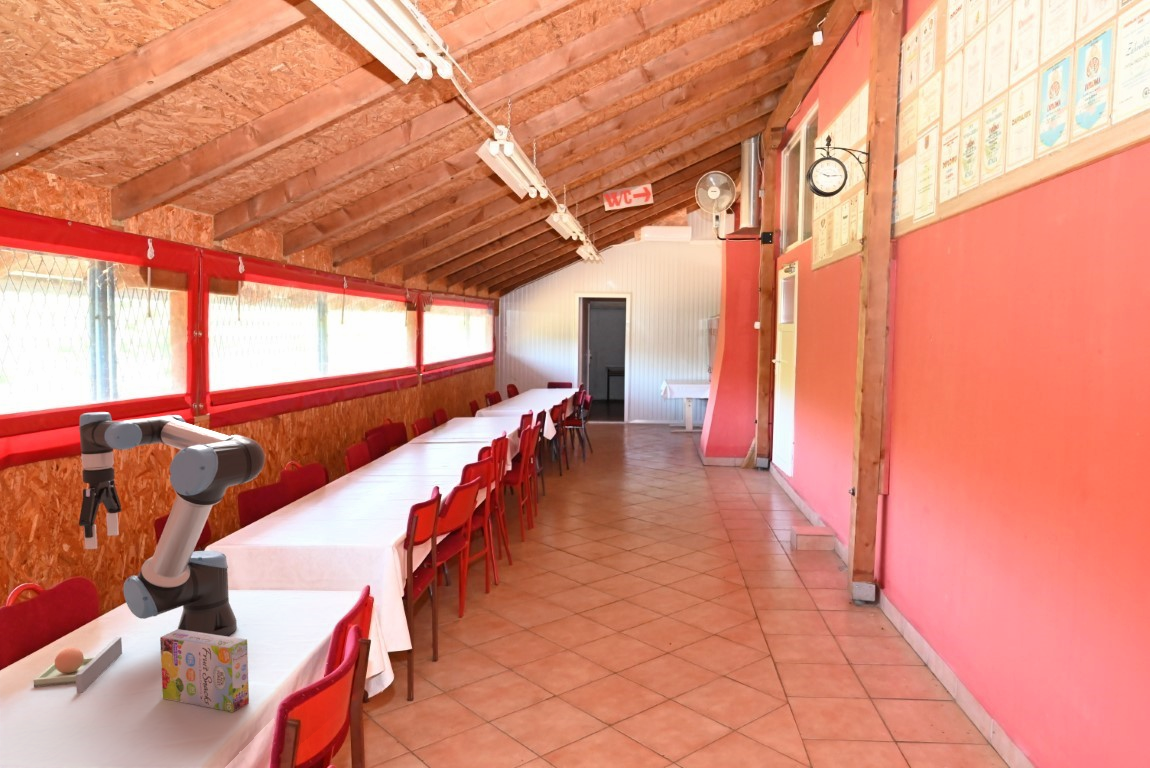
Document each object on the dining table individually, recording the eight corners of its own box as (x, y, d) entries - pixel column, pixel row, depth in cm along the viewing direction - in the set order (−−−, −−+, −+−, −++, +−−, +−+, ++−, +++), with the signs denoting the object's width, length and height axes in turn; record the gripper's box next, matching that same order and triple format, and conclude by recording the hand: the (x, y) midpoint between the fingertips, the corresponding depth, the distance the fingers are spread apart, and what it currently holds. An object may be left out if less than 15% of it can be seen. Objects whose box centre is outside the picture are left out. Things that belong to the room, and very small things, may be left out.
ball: (88, 666, 188) (87, 643, 188) (77, 676, 182) (75, 652, 182) (62, 668, 187) (61, 645, 186) (50, 678, 181) (48, 654, 181)
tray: (104, 662, 191) (103, 656, 191) (83, 682, 180) (83, 675, 180) (57, 666, 189) (56, 660, 189) (33, 687, 178) (33, 679, 178)
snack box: (251, 701, 170) (248, 638, 168) (232, 713, 164) (229, 648, 163) (180, 688, 176) (177, 627, 175) (160, 699, 171) (157, 636, 170)
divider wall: (122, 653, 196) (121, 636, 196) (82, 692, 175) (81, 674, 175) (117, 653, 196) (116, 637, 196) (76, 693, 175) (75, 674, 174)
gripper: (103, 460, 218) (107, 530, 219) (60, 476, 193) (65, 555, 195) (131, 459, 219) (135, 529, 221) (91, 475, 195) (96, 553, 196)
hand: (102, 541), depth 208 cm, fingers open, 13 cm apart
